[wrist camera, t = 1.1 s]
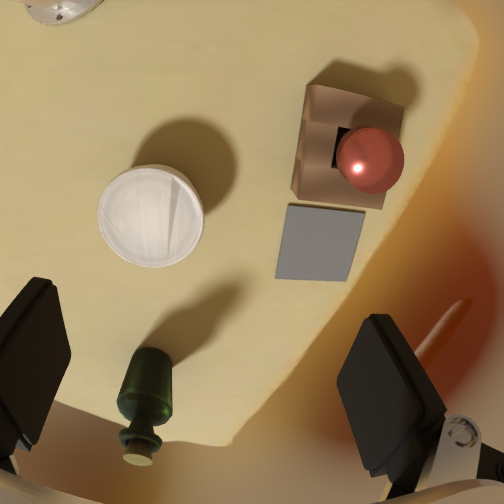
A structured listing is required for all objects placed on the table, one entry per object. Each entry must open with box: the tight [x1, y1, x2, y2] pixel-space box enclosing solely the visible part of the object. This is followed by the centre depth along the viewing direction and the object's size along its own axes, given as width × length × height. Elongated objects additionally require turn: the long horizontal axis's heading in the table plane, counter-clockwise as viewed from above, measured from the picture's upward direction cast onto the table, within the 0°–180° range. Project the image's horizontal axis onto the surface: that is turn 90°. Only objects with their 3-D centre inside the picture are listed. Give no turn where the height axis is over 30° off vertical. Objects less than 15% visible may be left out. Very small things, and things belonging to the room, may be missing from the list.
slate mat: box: [275, 205, 365, 282], centre depth 40 cm, size 10×10×1 cm
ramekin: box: [98, 164, 205, 268], centre depth 33 cm, size 11×11×5 cm
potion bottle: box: [117, 348, 173, 466], centre depth 39 cm, size 8×8×18 cm
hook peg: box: [333, 126, 404, 194], centre depth 30 cm, size 6×6×9 cm
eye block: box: [291, 85, 404, 210], centre depth 32 cm, size 12×10×4 cm
